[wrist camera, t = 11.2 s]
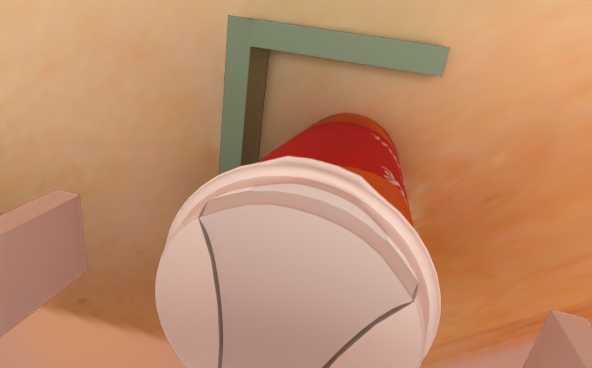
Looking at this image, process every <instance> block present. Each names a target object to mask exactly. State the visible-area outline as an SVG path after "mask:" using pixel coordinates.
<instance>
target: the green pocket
mask: <svg viewBox="0 0 592 368" xmlns="http://www.w3.org/2000/svg"><path fill="white" fill-rule="evenodd" d="M269 49H271V50H277V51H283V52H290V53H296V54H302V55H308V56H315V57H321V58H327V59H334V60H340V61H346V62H352V63H359V64H365V65H371V66H378V67H384V68H390V69H396V70H403V71H409V72H415V73H422V74H428V75H434V76H440V77H442V75H443V71H444V67H445V64H446V60H447V57H448V53H449V49H450V47H443V46H437V45H430V44H423V43H416V42H409V41H402V40H395V39H388V38H382V37H375V36H368V35H361V34H354V33H347V32H340V31H334V30H327V29H320V28H313V27H306V26H299V25H292V24H285V23H279V22H272V21H265V20H258V19H251V18H244V17H237V16H230V15H228V28H227V45H226V62H225V79H224V96H223V113H222V130H221V146H220V163H219V174H221V173H224V172H227V171H229V170H232V169H234V168H237V167H239V166H244V165H249V164H254V163H257V162H258V155H259V145H260V135H261V125H262V115H263V105H264V95H265V85H266V75H267V65H268V55H269Z"/></svg>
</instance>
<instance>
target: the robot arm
mask: <svg viewBox="0 0 592 368" xmlns="http://www.w3.org/2000/svg"><path fill="white" fill-rule="evenodd" d="M86 271H87V265H86V254H85V244H84V233H83V222H82V212H81V201H80V195H79V194H75V193H71V192H67V191H63V190H59V189H57V190H55V191H53V192H51V193H48V194H46V195H44V196H42V197H40V198H37V199H35V200H33V201H31V202H28V203H26V204H24V205H22V206H20V207H17V208H15V209H13V210H11V211H9V212H6V213H4V214H2V215H0V337H1V336H3V335H4V334H5V333H7V332H8V331H9V330H11V329H12V328H13V327H15V326H16V325H17V324H18V323H20V322H21V321H22V320H24V319H25V318H26V317H28V316H29V315H30V314H31V313H33V312H34V311H35V310H37V309H38V308H39V307H41V306H42V305H43V304H45V303H46V302H47V301H48V300H50V299H51V298H52V297H54V296H55V295H56V294H58V293H59V292H60V291H62V290H63V289H64V288H65V287H67V286H68V285H69V284H71V283H72V282H73V281H75V280H76V279H77V278H79V277H80V276H81V275H82V274H84V273H85V272H86ZM523 368H592V326H591V324H590V323H589V322H588V320H587V319H586V318H585V317H581V316H577V315H573V314H569V313H565V312H561V311H557V310H552V309H551V311H550V313H549V315H548V317H547V319H546V321H545V323H544V325H543V327H542V329H541V331H540V333H539V335H538V337H537V339H536V341H535V343H534V345H533V347H532V349H531V351H530V353H529V356H528V358H527V360H526V362H525V364H524V366H523Z"/></svg>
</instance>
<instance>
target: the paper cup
mask: <svg viewBox="0 0 592 368" xmlns="http://www.w3.org/2000/svg"><path fill="white" fill-rule="evenodd" d="M155 298H156V307H157V312H158V316H159V320H160V323H161V327H162V329H163V331H164V333H165V336H166V338H167V340H168V342H169V344H170V346H171V347H172V349H173V350H174V352H175V354H176V356H177V357H178V358H179V360H180V361H181V362H182V364H183V365H184V366H185V367H186V368H419V367H420V365H421V363H422V360H423V359H424V357H425V356H426V355H427V353H428V352H429V350H430V347H431V345H432V343H433V341H434V339H435V336H436V333H437V329H438V325H439V320H440V314H441V294H440V288H439V282H438V277H437V272H436V269H435V267H434V264H433V262H432V259H431V256H430V254H429V251H428V250H427V248H426V246H425V245H424V243H423V241H422V240H421V238H420V236H419V234H418V233H417V231H416V230H415V229H414V227H413V223H412V218H411V213H410V209H409V204H408V200H407V195H406V191H405V186H404V182H403V177H402V173H401V169H400V164H399V160H398V157H397V153H396V150H395V147H394V145H393V143H392V141H391V139H390V137H389V135H388V134H387V133H386V132H385V130H384V129H383V128H382V127H381V126H379V125H378V124H377V123H375V122H374V121H372V120H371V119H369V118H366V117H364V116H361V115H356V114H337V115H333V116H330V117H327V118H325V119H323V120H321V121H319V122H317V123H315V124H314V125H312V126H310V127H309V128H307V129H306V130H304V131H303V132H301V133H300V134H298V135H297V136H295V137H294V138H292V139H291V140H289V141H288V142H286V143H285V144H283V145H282V146H280V147H279V148H277V149H276V150H274V151H273V152H271V153H270V154H269V155H267V156H266V157H264V158H263V159H261V160H260V161H258V162H257V163H254V164H249V165H244V166H239V167H237V168H234V169H232V170H229V171H227V172H224V173H221V174H219V175H218V176H216V177H214V178H213V179H211V180H210V181H208V182H206V183H205V184H203V185H202V186H201V187H200V188H199V189H197V190H196V191H195V192H194V193H193V194H192V195H191V196H190V197H189V198H188V199H187V200H186V201H185V203H184V204H183V206H182V207H181V208H180V210H179V211H178V212H177V214H176V216H175V218H174V221H173V223H172V225H171V227H170V229H169V233H168V237H167V241H166V245H165V249H164V251H163V253H162V255H161V258H160V262H159V265H158V269H157V273H156V286H155Z"/></svg>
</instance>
